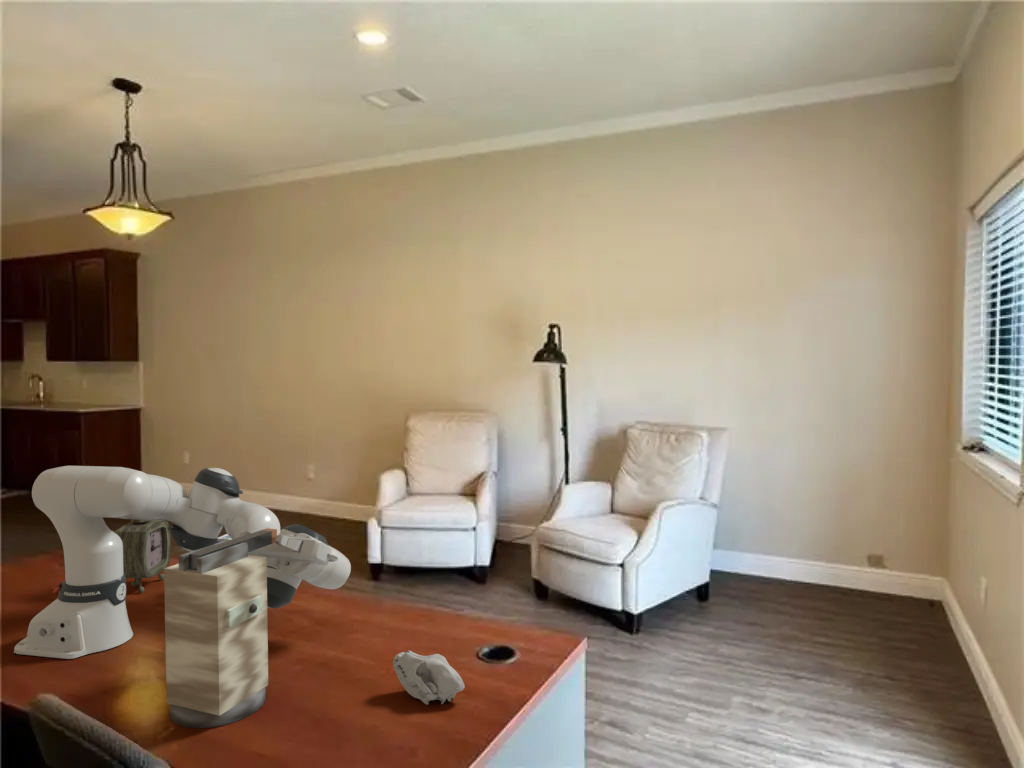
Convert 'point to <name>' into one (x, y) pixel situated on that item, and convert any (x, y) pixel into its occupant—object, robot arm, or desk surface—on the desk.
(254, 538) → the bar
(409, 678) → the skull
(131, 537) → the tabletop clock
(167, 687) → the level stand
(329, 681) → the desk surface
